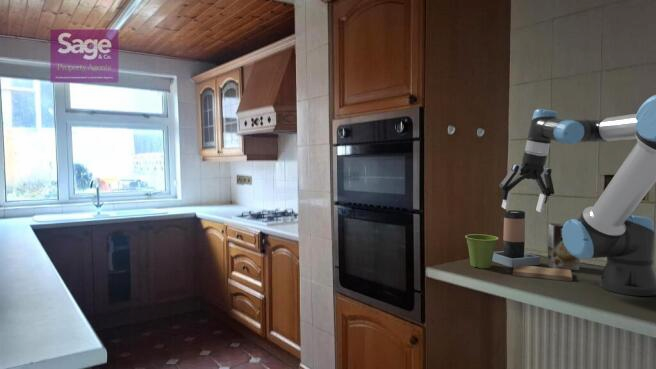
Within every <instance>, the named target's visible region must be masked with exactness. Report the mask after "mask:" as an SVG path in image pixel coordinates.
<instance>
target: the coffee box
mask: <svg viewBox="0 0 656 369" xmlns="http://www.w3.org/2000/svg"><path fill="white" fill-rule="evenodd" d="M564 224H565V223H551V222H549V224H548V236H547V238H548V241H547V263H546V264H547V266H548V267H549V268H556V269H567V270H571V271H572V270H573V271H579V270H580V259H581V258H577V257H575V256H573V255H571V254H570V253H569V252H568V250H567V249H566V247H565V245H564V243H563V238H562V228H563V226H564Z"/></svg>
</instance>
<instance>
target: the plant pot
mask: <svg viewBox="0 0 656 369" xmlns="http://www.w3.org/2000/svg"><path fill="white" fill-rule="evenodd" d="M464 237H465V239H466V244H467V247H468V254H469V255H468V256H469V262H470V266H472V267H473V268H476V267H477V268H478V269H489V268H491V267H492V263H493V261H492V258H493V254H494V252H495V248H496V245H497V241H498V240H499V237H497V236H494V235H490V234H481V233H480V234H479V233H478V234H477V233H475V234H472V233H471V234H466V235H465V236H464Z"/></svg>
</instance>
